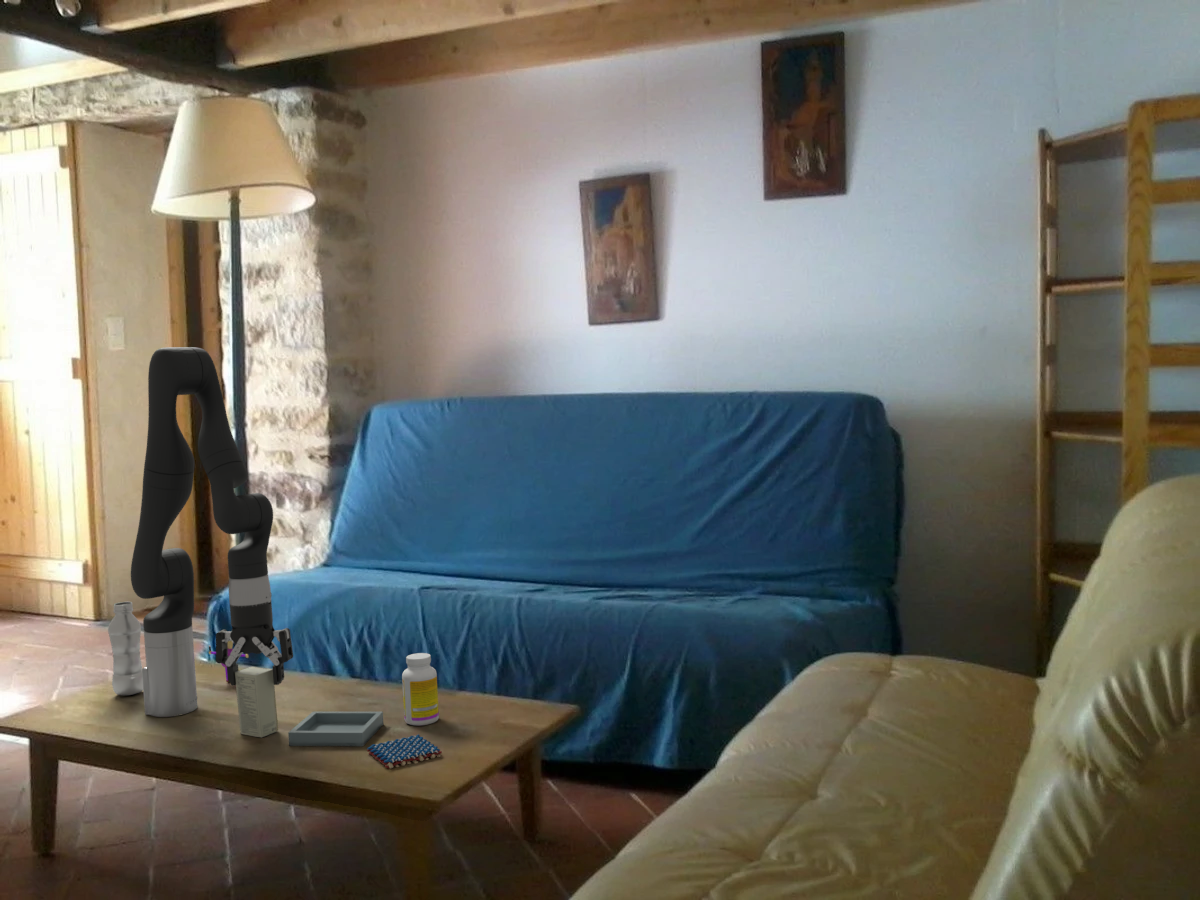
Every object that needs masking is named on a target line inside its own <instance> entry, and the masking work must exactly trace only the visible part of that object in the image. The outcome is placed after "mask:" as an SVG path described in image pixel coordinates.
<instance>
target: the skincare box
mask: <svg viewBox="0 0 1200 900" xmlns="http://www.w3.org/2000/svg"><path fill="white" fill-rule="evenodd" d="M235 679H236V685H235V687H236V688H235V690H236V699H237V702H236V703H237V711H238V712H237V713H238V721H239V724H238V725H239V732H240V734H242V735H244V736H245V735H246V736H251V737H255V738H263V737H266V736H269V735H272V734H274V733H277V732H278V731H279V725H278V724H279V723H278V712H277V711H278V709H277V701H276V700H277V699H276V691H275V689H276V688H275V685H274V680H273V668H265V667H259V666H249V667H246V668H243V669H240V670H238V671H237V672H235Z"/></svg>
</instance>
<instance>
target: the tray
mask: <svg viewBox="0 0 1200 900" xmlns="http://www.w3.org/2000/svg"><path fill="white" fill-rule="evenodd" d="M384 725H385V724H384V712H383V711H311V713H309V714H308V715H307V716H306V717H305V718H303V719H302V720H301V721H300V722H299V723H297V725H296V726H294V727H293V728H292V729H290V730H289V731H288V732H287V734H288V746H289V747H303V746H304V747H364V746H365V744H367V743H368V742H369V740H370V739H372V737H373V736H374V735H376V733H377V732H378V731H379V730H380V729H381V728H382V726H384Z"/></svg>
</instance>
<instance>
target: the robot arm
mask: <svg viewBox="0 0 1200 900" xmlns="http://www.w3.org/2000/svg"><path fill="white" fill-rule="evenodd" d="M147 382H148V385H147V386H148V387H147V390H148V392H147V393H148V420H147V421H148V422H147V423H148V425H147V436H146V438H147V440H146V449H145V450H146V451H145V458H144V464H143V465H144V466H143V477H142V493H141V494H142V495H141V503H140V514H139V520H138V521H139V522H138V528H137V534H136V538H135V543H134V548H133V553H132V557H131V558H132V560H131V565H130V582H131V588H132V590H133V592H134V594H135V595H137V597H138V598H140V599H145V600H146V599H155V598H160V597H163V598H162V600H161V601H160V603H159V604H158V606H157V607H156V608H154V609H153V610H152V611H150V612H148V613H147V614H146V615H145V616H144V617H143V621H142V622H143V623H142V625H143V638H144V653H145V666H144V667H142V677H143V691H142V692H143V702H144V703H143V704H144V715H149V716H152V717H157V718H169V717H177V716H182V715H187V714H189V713H192V712H193V711H195V710H197V708H198V706H199V705H198V693H197V676H196V675H197V674H196V662H195V660H196V659H195V645H194V631H193V615H194V612H195V611H194V610H195V575H194V574H195V573H194V566H193V562H192V559H191V556H190V554H188V552H187V551H186V550H185V549H183V548H181V547H172V548H167V549H166V548H165V549H164V544H165V540H166V536H167V534H168V532H169V529H170V528H171V526H172V525H173V523H174V522H175V521H176V518H177V517H178V516H179V514H180V513H181V511H182V510H183V509H184V507H185V506H186V504H187V502H188V501H189V499H190V497H191V494H192V491H193V486H194V484H193V483H194V475H195V465H196V464H195V457H194V454H193V451H192V449H191V447H190V445H189V443H188V442H187V440H186V438H185V436H184V435H183V432H182V431H181V428H180V427H179V423H178V419H177V401H178V396H185V395H186V396H187V395H194V396H195V397H196V399H197V402H198V403H199V406H200V409H201V418H202V419H201V425H200V429H199V434H198V439H197V451H198V457H199V458H200V459H199V460H200V462H201V464H202V467H203V470H204V472H205V474H206V476H207V478H208V482H209V484H210V486H209V487H210V493H211V500H212V501H211V502H212V511H213V512H212V513H213V520H214V521H215V524H216V526H217V527H218V528H219V529H220V531H222V532H223V533H225V534H227V535H238V534H242V533H245V534H244V537H243V540H242V541H241V542H240V543H238V544H237V545H234V546H233V547H231V548H230V549H229V550H228V552H227V569H228V578H229V579H228V599H229V613H230V614H229V615H230V625H231V631H230V630H229V631H227V629H222V630H220V631H217V632H216V633H215V652H216V654H215V662H216V663H217V664H221V663H222V664H225V665H226V666H227V676H228V681H229V682H228V683H230V685H231V686H236V679H235V672H237V671H239V664H238V663H237V662H238V660H239V659H240V658H241V657H240V656H241V655H242V654H248V655H250V654H255V655H258V654H260V655H261V654H263V655H264V656H265V657H266V658H268V659H269V660H270V662H271V663H272V664H273V665H272V669H273V680H274V686H278V685H280V684H281V683H282V682H283V681H284V680H285V669H284V664H285V663H287V662H289V661H290V660H292V659H293V658H294V652H293V650H294V649H293V645H292V636H291V635H292V634H291V629H290V628H289V627H285V628H283V629H277V630H275V628H274V625H273V621H274V618H273V605H272V591H271V583H270V579H269V568H268V557H267V556H268V555H267V552H268V548H269V543H270V539H271V538H270V537H271V532H272V527H273V522H274V509H273V506H272V503H271V501H270V499H269V498H268V497H267V496H266V495H264V494H262V493H259V492H253V493H248V494H239V495H236V492H235V489H236V488H238V487H240V486H242V485H244V483H245V482H246V481H247V480H248V477H249V476H248V475H249V474H248V470H247V467H246V465H245V462H244V460H243V458H242V456H241V454H240V451H239V449H238V447H237V444H236V441H235V439H234V436H233V433H232V430H231V427H230V422H229V419H228V416H227V415H228V414H227V409H226V405H225V401H224V397H223V392H222V389H221V384H220V381H219V377H218V372H217V369H216V366H215V363H214V360H213V359H212V357H211V355H210V354H209V352H208V351H206V350H205V349H203V348H201V347H192V346H189V347H187V346H183V347H182V346H181V347H179V346H174V347H173V346H172V347H160V348H158V349H156V350H155V351H153V354H152V355H151V358H150V360H149V366H148V378H147ZM275 637H276V640H277V641H278V642H279V647H280V651H279V648H278V646H277V645H276V644H275V643H274V641H273V640H274V639H275ZM230 638H231V639H232V640H231V641H233V642H234V643H235V644H236V645H235V644H234V643H233V644H234V645H235V646H234V647H233V648H232V649H233V650H232V652H231V653H230V656H228V641H229V640H230Z"/></svg>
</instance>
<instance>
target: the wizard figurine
mask: <svg viewBox="0 0 1200 900" xmlns="http://www.w3.org/2000/svg"><path fill="white" fill-rule="evenodd" d="M235 645H236V644H235V643H234V642H233V640H232V639H231V637H230V640H229V641H228V656H230V653H231V652H232V650H233V649H234V647H235ZM233 646H234V647H233ZM211 647H212V646H211V645H208V654H209V655H216V651H212V649H211ZM249 655H250V654H244V653H243V654H242V655H241V656H240V657H239V658H241V657H243V658H246V659H249ZM220 665H221V666H222V667H223V668H224V669H225V670H224V671H225V678H226V683H230V682H229V681H228V676H227V666H226V665H225V664H222V663H220Z"/></svg>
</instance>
